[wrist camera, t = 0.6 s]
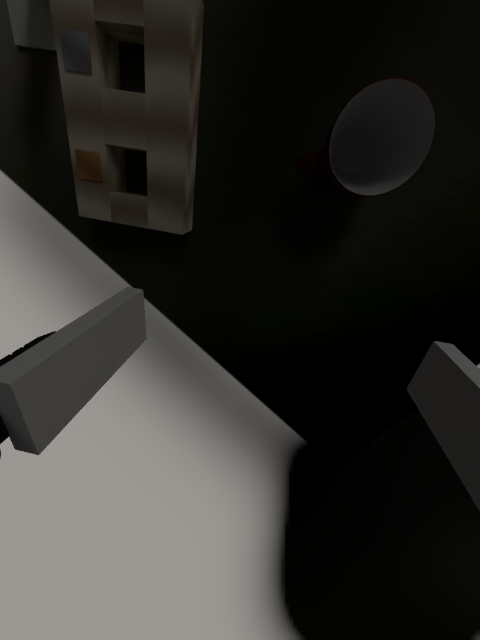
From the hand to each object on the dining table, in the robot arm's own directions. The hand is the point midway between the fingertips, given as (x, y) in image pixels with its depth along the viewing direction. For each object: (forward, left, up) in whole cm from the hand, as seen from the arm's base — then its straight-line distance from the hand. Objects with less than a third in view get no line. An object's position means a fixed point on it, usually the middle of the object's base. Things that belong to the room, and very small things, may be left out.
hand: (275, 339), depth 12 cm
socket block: (-10, -20, -26) cm, 34 cm away
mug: (-10, +5, -26) cm, 29 cm away
